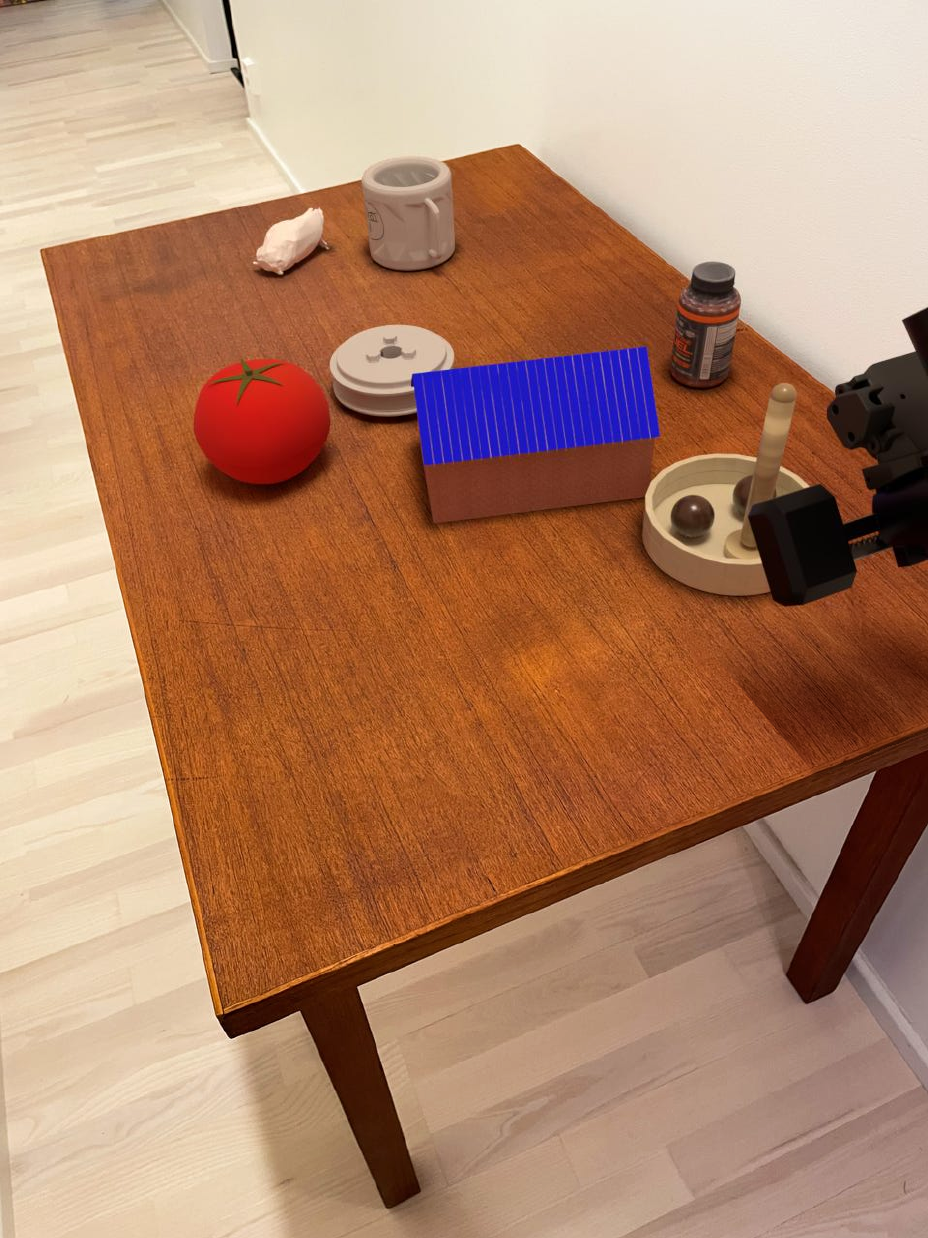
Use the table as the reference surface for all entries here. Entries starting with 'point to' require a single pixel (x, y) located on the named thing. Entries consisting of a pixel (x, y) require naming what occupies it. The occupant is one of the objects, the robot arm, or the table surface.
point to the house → (536, 433)
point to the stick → (764, 468)
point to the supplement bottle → (706, 326)
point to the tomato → (261, 420)
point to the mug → (409, 212)
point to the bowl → (705, 555)
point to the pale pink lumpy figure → (291, 241)
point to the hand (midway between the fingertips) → (819, 527)
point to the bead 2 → (743, 493)
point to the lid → (386, 368)
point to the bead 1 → (692, 516)
